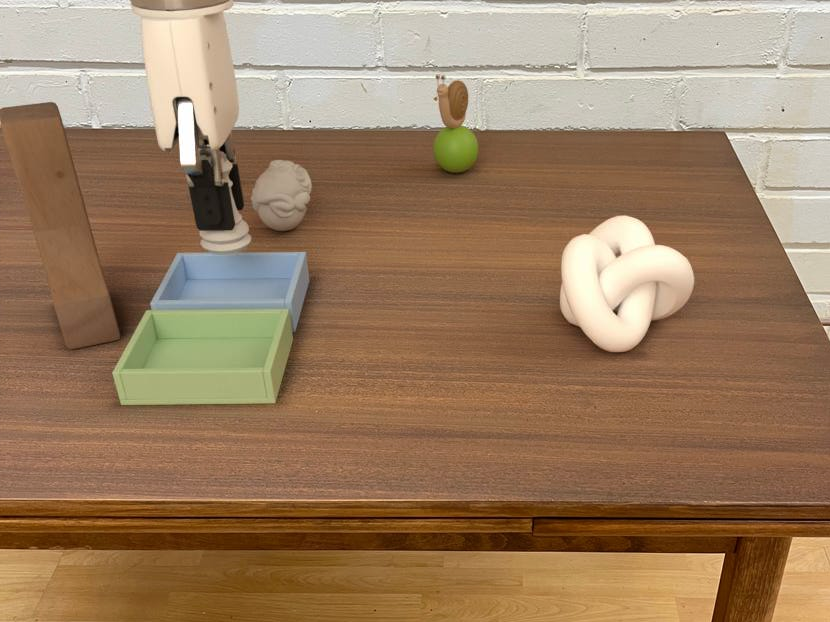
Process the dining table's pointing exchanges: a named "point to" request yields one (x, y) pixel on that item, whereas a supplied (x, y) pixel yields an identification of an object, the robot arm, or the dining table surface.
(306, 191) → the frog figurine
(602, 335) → the white knot sculpture
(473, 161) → the snail figurine
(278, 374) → the green tray
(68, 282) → the wooden block
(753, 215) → the dining table surface
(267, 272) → the blue tray
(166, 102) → the robot arm
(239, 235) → the rook chess piece
